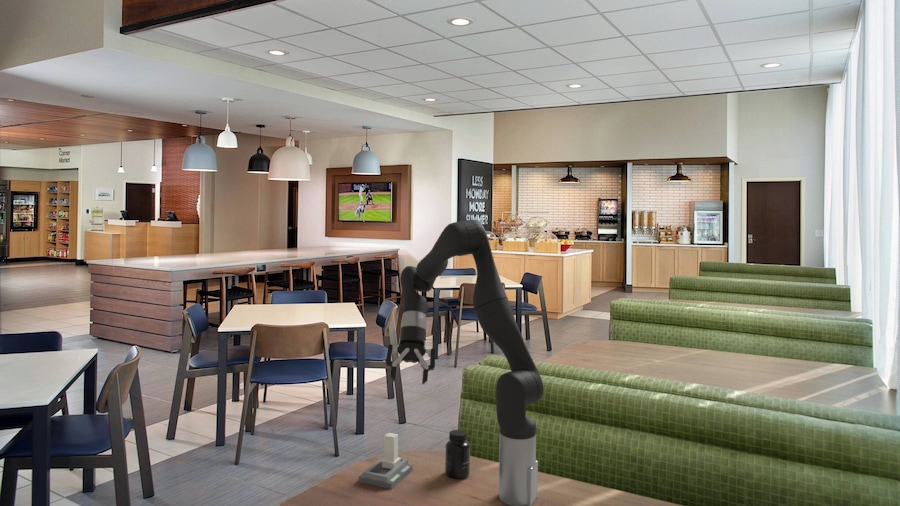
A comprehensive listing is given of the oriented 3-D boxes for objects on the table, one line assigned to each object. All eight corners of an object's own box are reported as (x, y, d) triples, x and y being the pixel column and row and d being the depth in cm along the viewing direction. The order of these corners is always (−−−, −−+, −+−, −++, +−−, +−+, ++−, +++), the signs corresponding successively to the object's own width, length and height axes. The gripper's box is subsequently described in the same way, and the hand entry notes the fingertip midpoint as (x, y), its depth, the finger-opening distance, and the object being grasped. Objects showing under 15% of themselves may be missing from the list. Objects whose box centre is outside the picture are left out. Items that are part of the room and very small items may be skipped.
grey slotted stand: (412, 470, 171) (412, 460, 171) (391, 489, 160) (391, 478, 160) (381, 464, 175) (381, 454, 175) (358, 481, 164) (358, 471, 164)
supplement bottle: (470, 480, 166) (470, 437, 164) (444, 480, 166) (445, 437, 165) (469, 469, 172) (470, 428, 171) (445, 468, 173) (445, 427, 171)
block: (400, 463, 171) (400, 433, 171) (393, 469, 168) (393, 438, 167) (388, 461, 173) (388, 431, 172) (381, 467, 169) (381, 436, 168)
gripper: (389, 322, 179) (384, 376, 172) (438, 326, 180) (434, 380, 173) (389, 331, 186) (383, 383, 178) (435, 335, 187) (432, 387, 179)
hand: (408, 382), depth 175 cm, fingers open, 8 cm apart
